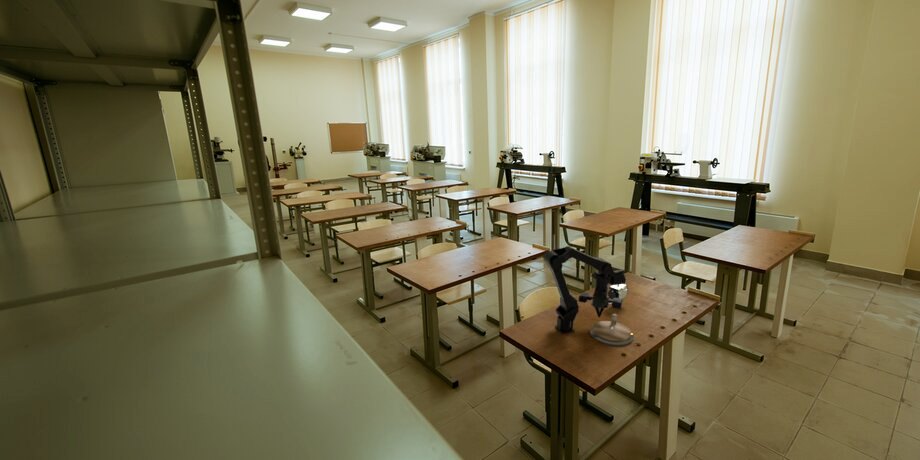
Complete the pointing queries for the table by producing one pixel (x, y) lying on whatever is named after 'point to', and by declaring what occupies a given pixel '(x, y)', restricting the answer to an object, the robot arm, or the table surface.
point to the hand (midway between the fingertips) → (599, 316)
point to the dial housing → (609, 341)
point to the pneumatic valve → (618, 291)
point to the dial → (612, 330)
